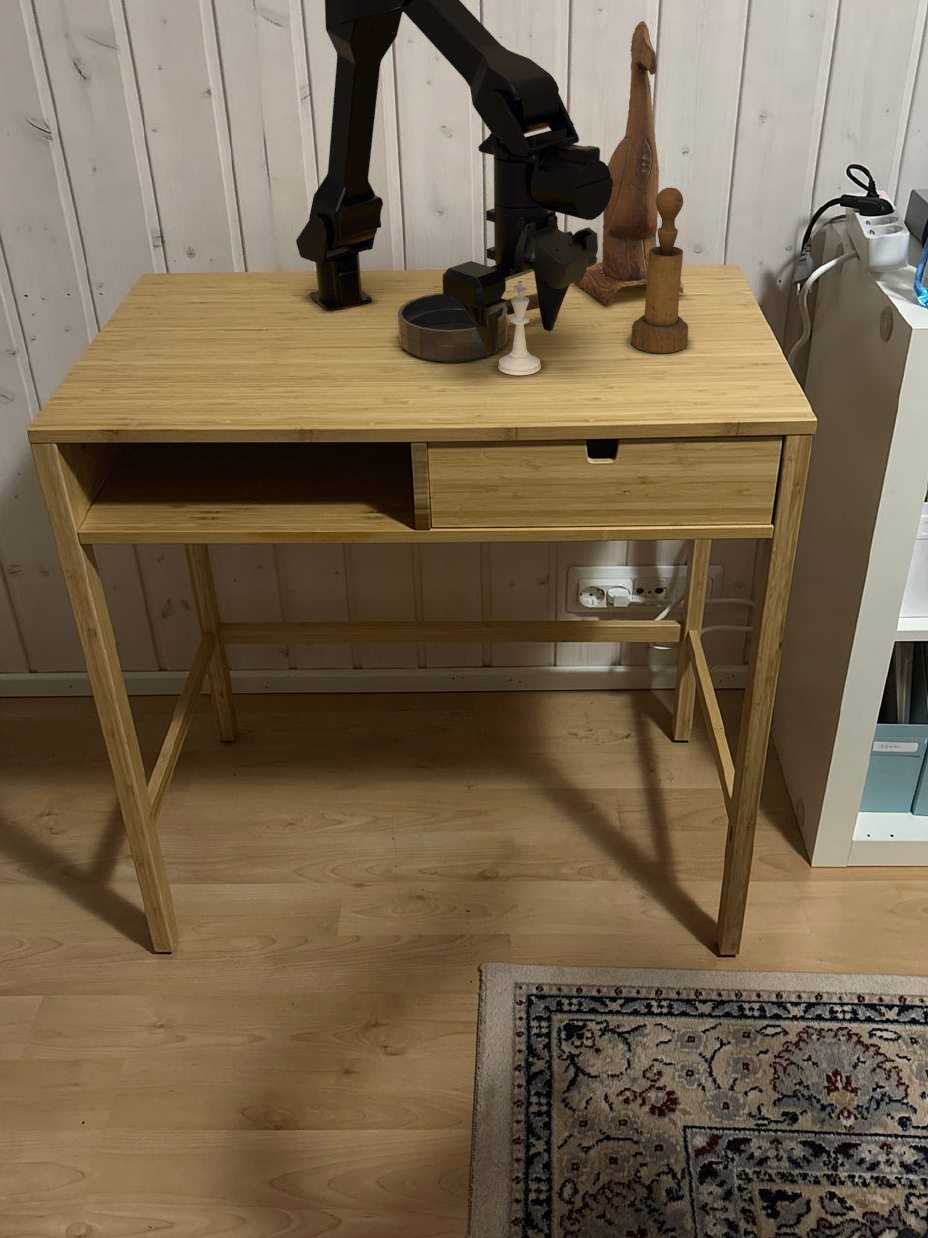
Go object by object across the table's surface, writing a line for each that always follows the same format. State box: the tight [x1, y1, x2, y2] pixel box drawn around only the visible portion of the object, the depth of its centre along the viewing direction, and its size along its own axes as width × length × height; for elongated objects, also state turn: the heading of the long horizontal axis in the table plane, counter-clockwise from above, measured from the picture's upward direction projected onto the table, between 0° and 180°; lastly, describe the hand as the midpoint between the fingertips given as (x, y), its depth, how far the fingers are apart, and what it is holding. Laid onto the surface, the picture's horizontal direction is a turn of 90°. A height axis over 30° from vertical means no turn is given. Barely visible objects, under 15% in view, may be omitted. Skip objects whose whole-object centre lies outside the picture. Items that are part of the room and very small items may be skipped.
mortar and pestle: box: [630, 187, 689, 354], centre depth 136 cm, size 7×6×18 cm
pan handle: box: [498, 292, 539, 316], centre depth 145 cm, size 9×2×2 cm, turn 118°
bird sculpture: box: [574, 20, 684, 305], centre depth 147 cm, size 11×12×32 cm
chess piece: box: [497, 280, 542, 376], centre depth 133 cm, size 5×5×10 cm
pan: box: [397, 292, 509, 363], centre depth 141 cm, size 13×13×4 cm
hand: (520, 341), depth 134 cm, fingers open, 9 cm apart
